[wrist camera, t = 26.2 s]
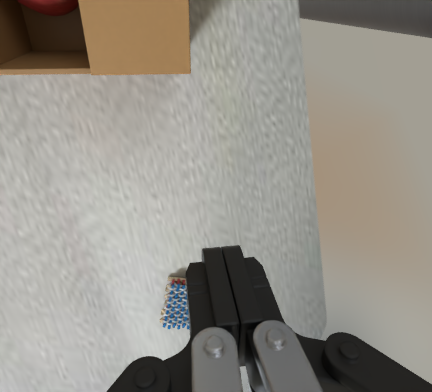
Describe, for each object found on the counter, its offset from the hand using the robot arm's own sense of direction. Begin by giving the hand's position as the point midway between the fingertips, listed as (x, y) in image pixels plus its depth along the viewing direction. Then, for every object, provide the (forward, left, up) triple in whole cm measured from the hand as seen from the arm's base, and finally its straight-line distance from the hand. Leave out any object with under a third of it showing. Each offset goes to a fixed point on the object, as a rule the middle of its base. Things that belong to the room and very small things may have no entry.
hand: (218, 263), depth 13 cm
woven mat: (-1, +33, -27) cm, 43 cm away
